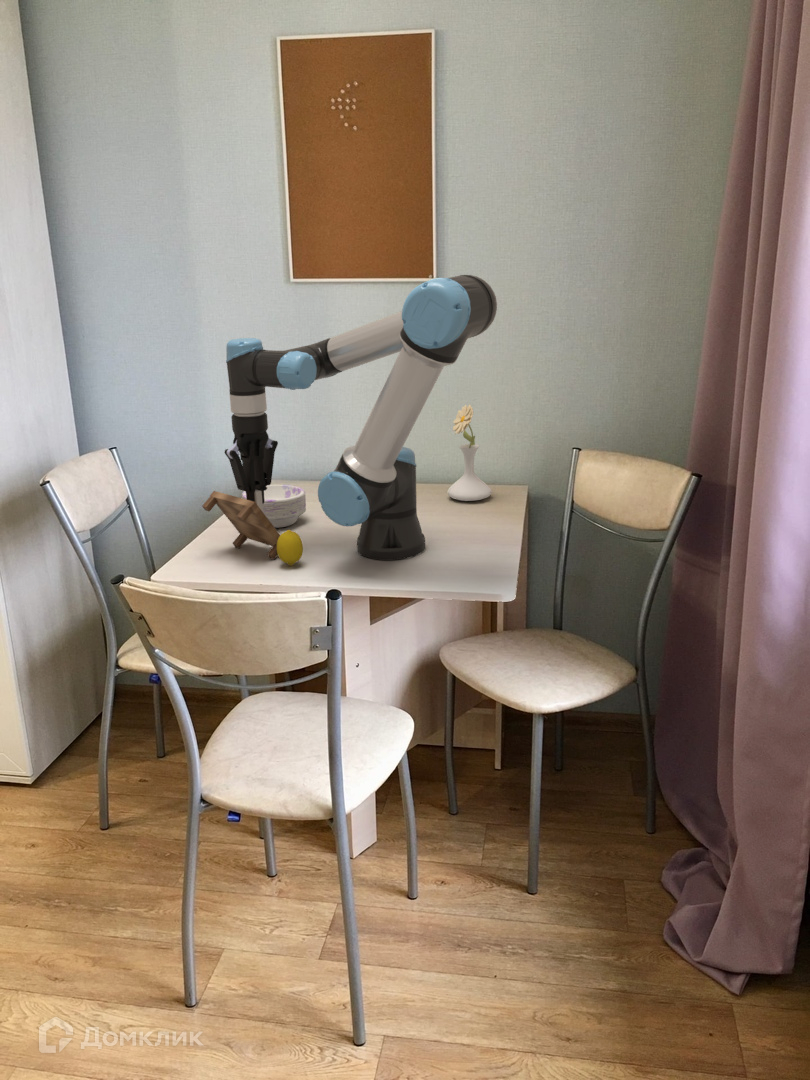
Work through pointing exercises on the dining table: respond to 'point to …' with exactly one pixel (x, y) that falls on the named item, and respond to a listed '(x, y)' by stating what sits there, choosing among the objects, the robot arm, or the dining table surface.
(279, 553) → the lemon
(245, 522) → the footstool
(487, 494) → the flower in vase
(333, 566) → the dining table surface
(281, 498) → the paper bowls
